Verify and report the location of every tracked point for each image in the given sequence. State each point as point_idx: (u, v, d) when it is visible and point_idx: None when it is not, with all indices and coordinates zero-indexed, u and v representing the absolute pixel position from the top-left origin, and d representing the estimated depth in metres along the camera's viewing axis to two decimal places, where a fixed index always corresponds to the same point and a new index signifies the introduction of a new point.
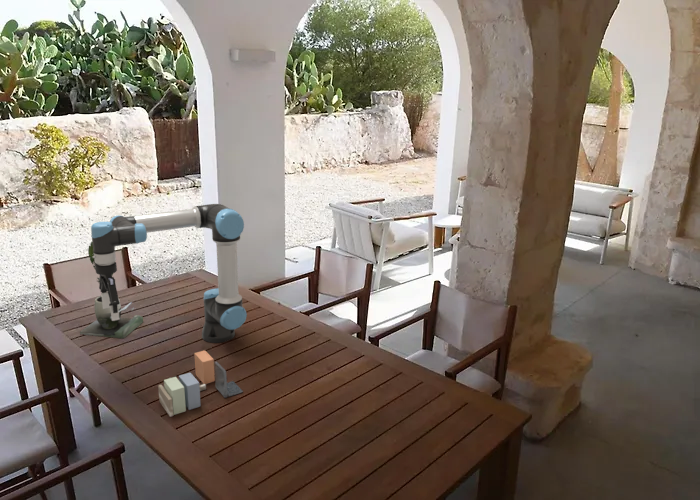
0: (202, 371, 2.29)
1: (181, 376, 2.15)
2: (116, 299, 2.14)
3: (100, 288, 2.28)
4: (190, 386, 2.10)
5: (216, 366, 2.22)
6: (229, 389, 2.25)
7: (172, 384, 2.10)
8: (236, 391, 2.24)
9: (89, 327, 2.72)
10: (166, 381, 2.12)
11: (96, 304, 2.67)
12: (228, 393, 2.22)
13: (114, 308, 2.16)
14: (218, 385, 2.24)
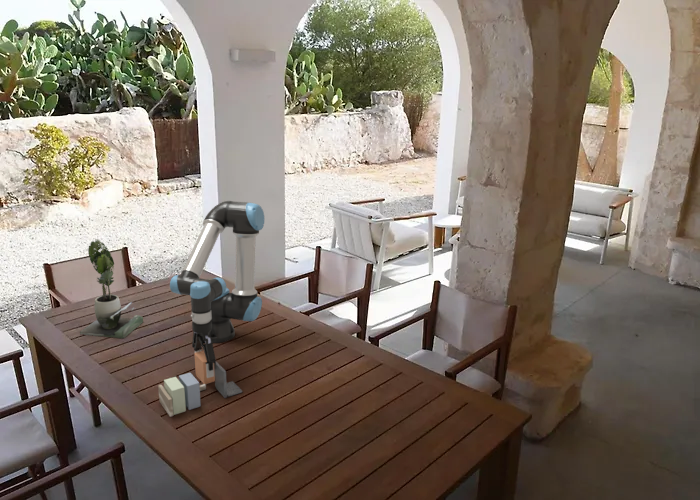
0: (202, 371, 2.29)
1: (181, 376, 2.15)
2: (213, 357, 2.23)
3: (193, 346, 2.35)
4: (190, 386, 2.10)
5: (216, 366, 2.22)
6: (229, 389, 2.25)
7: (172, 384, 2.10)
8: (236, 391, 2.24)
9: (89, 327, 2.72)
10: (166, 381, 2.12)
11: (96, 304, 2.67)
12: (228, 393, 2.22)
13: (210, 366, 2.24)
14: (218, 385, 2.24)
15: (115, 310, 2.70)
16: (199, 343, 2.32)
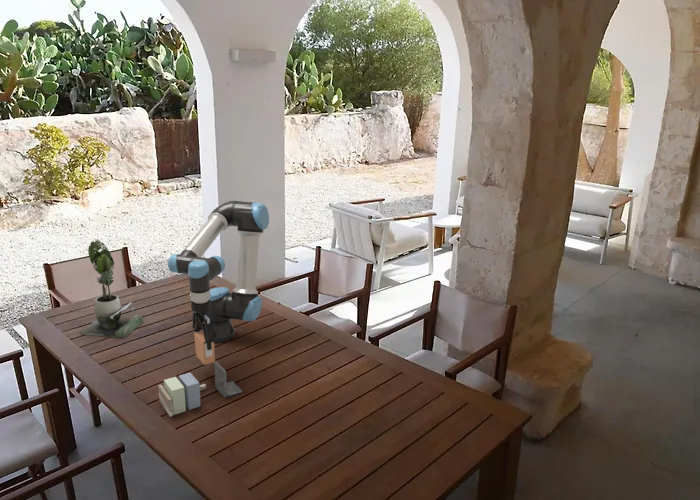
0: (202, 351, 2.27)
1: (181, 376, 2.15)
2: (211, 337, 2.22)
3: (193, 327, 2.33)
4: (190, 386, 2.10)
5: (216, 366, 2.22)
6: (229, 389, 2.25)
7: (172, 384, 2.10)
8: (236, 391, 2.24)
9: (89, 327, 2.72)
10: (166, 381, 2.12)
11: (96, 304, 2.67)
12: (228, 393, 2.22)
13: (208, 345, 2.24)
14: (218, 385, 2.24)
15: (115, 310, 2.70)
16: (199, 323, 2.30)
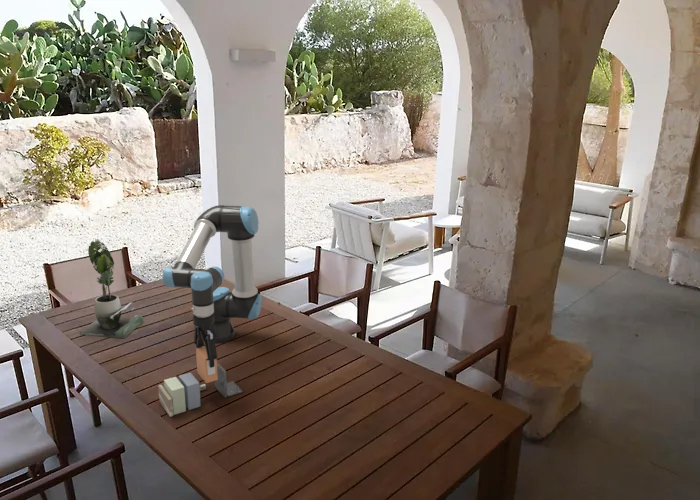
0: (204, 369, 2.13)
1: (181, 376, 2.15)
2: (214, 354, 2.08)
3: (195, 342, 2.19)
4: (190, 386, 2.10)
5: None
6: (229, 389, 2.25)
7: (172, 384, 2.10)
8: (236, 391, 2.24)
9: (89, 327, 2.72)
10: (166, 381, 2.12)
11: (96, 304, 2.67)
12: (228, 393, 2.22)
13: (211, 362, 2.10)
14: (218, 385, 2.24)
15: (115, 310, 2.70)
16: (201, 338, 2.16)
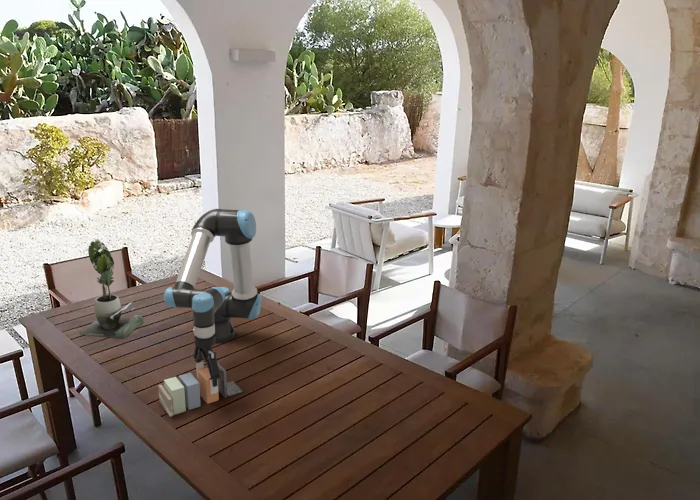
0: (205, 390, 2.16)
1: (181, 376, 2.15)
2: (217, 373, 2.09)
3: (194, 357, 2.23)
4: (190, 386, 2.10)
5: None
6: (229, 389, 2.25)
7: (172, 384, 2.10)
8: (236, 391, 2.24)
9: (89, 327, 2.72)
10: (166, 381, 2.12)
11: (96, 304, 2.67)
12: (228, 393, 2.22)
13: (214, 382, 2.11)
14: (218, 385, 2.24)
15: (115, 310, 2.70)
16: (201, 356, 2.19)
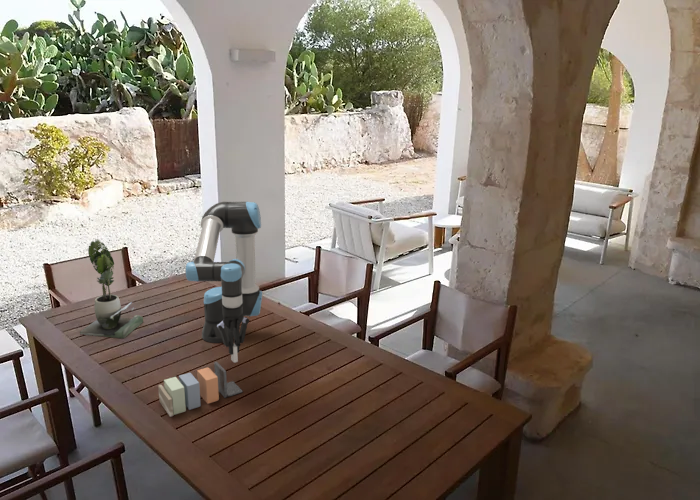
0: (205, 390, 2.16)
1: (181, 376, 2.15)
2: (224, 342, 2.18)
3: None
4: (190, 386, 2.10)
5: (216, 366, 2.22)
6: (229, 389, 2.25)
7: (172, 384, 2.10)
8: (236, 391, 2.24)
9: (89, 327, 2.72)
10: (166, 381, 2.12)
11: (96, 304, 2.67)
12: (228, 393, 2.22)
13: (229, 349, 2.21)
14: (218, 385, 2.24)
15: (115, 310, 2.70)
16: (234, 332, 2.20)
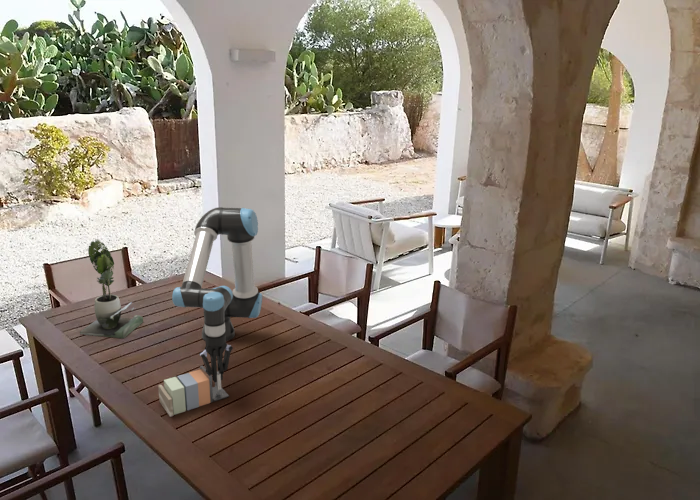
0: None
1: (180, 376, 2.15)
2: (207, 370, 2.17)
3: None
4: (188, 386, 2.09)
5: (202, 370, 2.19)
6: (215, 393, 2.22)
7: (172, 384, 2.10)
8: (222, 395, 2.20)
9: (89, 327, 2.72)
10: (166, 381, 2.12)
11: (96, 304, 2.67)
12: (214, 397, 2.19)
13: (212, 376, 2.20)
14: None
15: (115, 310, 2.70)
16: (218, 360, 2.19)
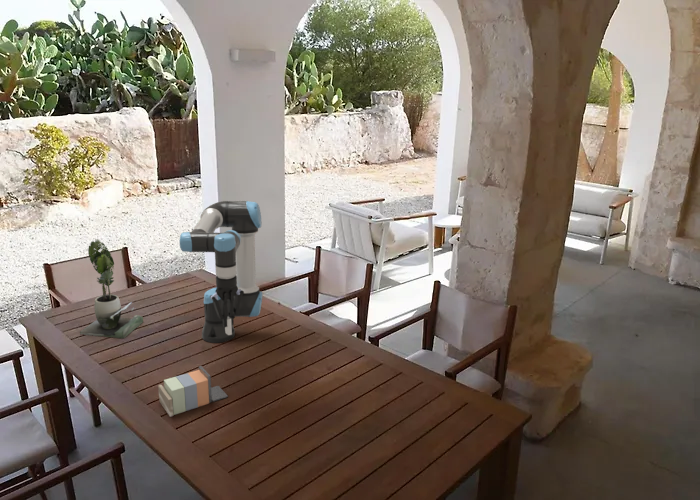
0: None
1: (178, 377, 2.15)
2: (218, 314, 2.13)
3: None
4: (187, 387, 2.09)
5: (200, 370, 2.19)
6: (214, 394, 2.21)
7: (172, 384, 2.10)
8: (221, 396, 2.20)
9: (89, 327, 2.72)
10: (166, 381, 2.12)
11: (96, 304, 2.67)
12: (213, 398, 2.19)
13: (223, 321, 2.16)
14: None
15: (115, 310, 2.70)
16: (229, 304, 2.16)
